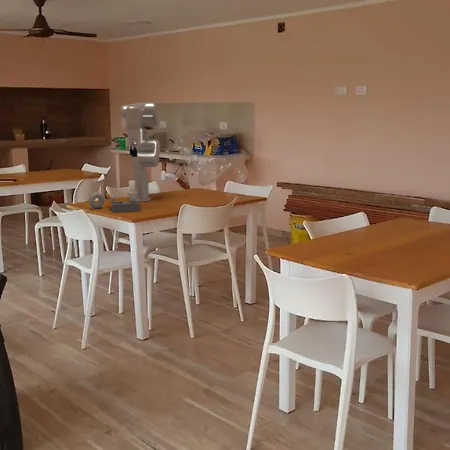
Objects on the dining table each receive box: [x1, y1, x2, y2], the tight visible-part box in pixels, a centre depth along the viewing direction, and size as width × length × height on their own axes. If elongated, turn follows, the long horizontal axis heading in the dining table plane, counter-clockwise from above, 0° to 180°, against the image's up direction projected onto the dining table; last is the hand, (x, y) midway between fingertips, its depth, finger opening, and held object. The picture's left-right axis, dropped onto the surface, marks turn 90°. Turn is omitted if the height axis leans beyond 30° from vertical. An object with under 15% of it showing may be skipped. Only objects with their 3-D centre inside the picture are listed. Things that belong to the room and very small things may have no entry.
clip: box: [105, 192, 116, 201], centre depth 372 cm, size 2×15×2 cm, turn 22°
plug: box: [126, 179, 137, 203], centre depth 366 cm, size 6×6×13 cm
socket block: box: [110, 199, 141, 214], centre depth 366 cm, size 11×16×6 cm
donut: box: [88, 191, 105, 209], centre depth 372 cm, size 10×4×10 cm, turn 128°
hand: (133, 155), depth 372 cm, fingers open, 9 cm apart
